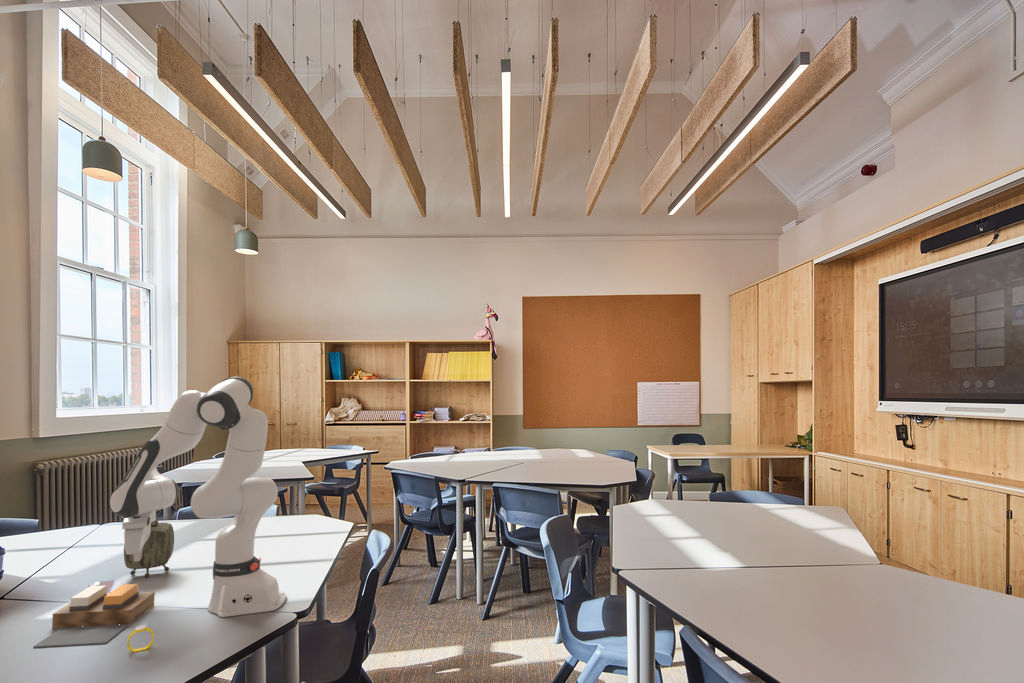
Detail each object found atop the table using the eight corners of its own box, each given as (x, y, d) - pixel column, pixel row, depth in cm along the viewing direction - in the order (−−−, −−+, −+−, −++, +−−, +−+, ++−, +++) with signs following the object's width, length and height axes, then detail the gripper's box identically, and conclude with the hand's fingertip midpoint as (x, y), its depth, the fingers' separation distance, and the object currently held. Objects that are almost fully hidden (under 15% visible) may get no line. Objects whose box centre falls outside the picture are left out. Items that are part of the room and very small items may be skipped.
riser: (154, 604, 183) (154, 591, 183) (130, 623, 169) (131, 609, 169) (81, 608, 180) (82, 595, 180) (52, 628, 166) (52, 613, 166)
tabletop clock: (173, 569, 216) (175, 501, 217) (168, 577, 207) (170, 506, 209) (128, 574, 211) (130, 504, 212) (121, 582, 202) (123, 510, 203)
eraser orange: (138, 595, 180) (138, 583, 180) (121, 608, 170) (121, 595, 170) (121, 596, 179) (121, 584, 179) (102, 609, 169) (103, 596, 170)
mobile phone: (80, 597, 187) (89, 582, 201) (80, 600, 187) (89, 585, 201) (109, 593, 191) (115, 579, 204) (109, 596, 191) (115, 581, 204)
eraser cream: (107, 597, 179) (107, 585, 179) (87, 610, 169) (88, 597, 169) (89, 597, 178) (90, 585, 178) (69, 611, 168) (69, 598, 168)
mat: (128, 625, 168) (128, 624, 168) (106, 643, 156) (106, 642, 156) (61, 629, 165) (61, 627, 165) (33, 647, 154) (33, 646, 154)
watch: (127, 656, 150) (126, 633, 150) (127, 652, 152) (126, 629, 152) (154, 648, 153) (153, 626, 153) (154, 644, 156) (153, 622, 156)
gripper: (134, 509, 194) (133, 550, 194) (121, 525, 175) (119, 571, 175) (156, 507, 196) (154, 548, 196) (145, 523, 178) (143, 569, 177)
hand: (137, 559), depth 185 cm, fingers closed
